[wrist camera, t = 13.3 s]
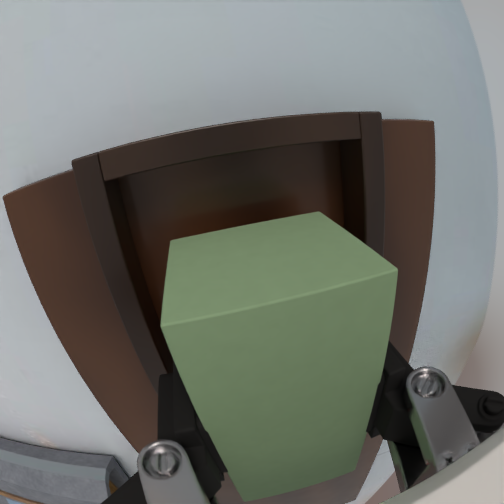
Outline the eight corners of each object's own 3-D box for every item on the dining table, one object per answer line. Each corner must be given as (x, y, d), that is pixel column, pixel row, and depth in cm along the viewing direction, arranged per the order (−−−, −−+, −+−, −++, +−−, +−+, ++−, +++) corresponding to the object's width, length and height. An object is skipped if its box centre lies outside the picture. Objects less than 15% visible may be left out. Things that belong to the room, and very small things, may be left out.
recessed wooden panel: (415, 112, 10) (460, 115, 8) (352, 492, 26) (359, 508, 24) (15, 181, 8) (-25, 199, 6) (221, 525, 24) (224, 543, 22)
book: (108, 444, 15) (103, 510, 10) (163, 516, 21) (166, 555, 17) (-78, 401, 11) (-95, 437, 6) (5, 489, 17) (-1, 519, 13)
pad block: (319, 210, 9) (399, 268, 5) (321, 402, 13) (355, 470, 9) (170, 240, 8) (159, 325, 5) (228, 426, 12) (243, 502, 8)
